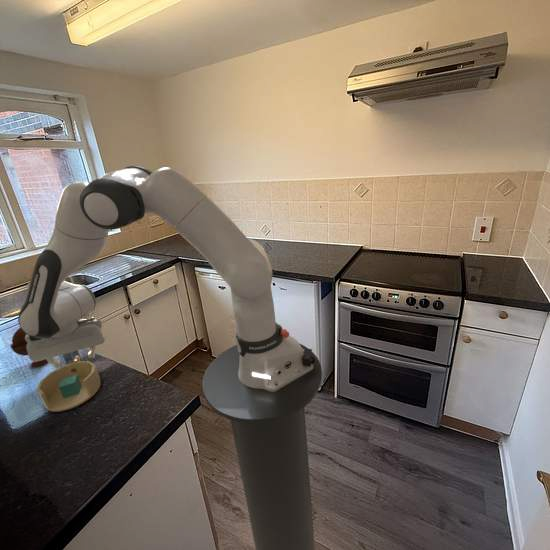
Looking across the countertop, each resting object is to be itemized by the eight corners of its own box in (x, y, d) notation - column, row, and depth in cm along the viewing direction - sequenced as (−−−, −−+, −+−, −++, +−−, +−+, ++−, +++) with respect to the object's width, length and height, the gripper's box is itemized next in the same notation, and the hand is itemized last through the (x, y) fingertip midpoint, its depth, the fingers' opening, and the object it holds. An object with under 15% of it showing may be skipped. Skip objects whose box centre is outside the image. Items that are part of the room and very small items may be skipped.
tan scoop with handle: (104, 359, 102) (99, 344, 100) (98, 399, 84) (91, 382, 82) (57, 373, 97) (50, 358, 95) (39, 419, 79) (30, 401, 77)
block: (81, 385, 90) (77, 374, 88) (79, 393, 86) (74, 382, 85) (66, 389, 89) (61, 379, 87) (63, 398, 85) (58, 387, 84)
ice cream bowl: (66, 355, 107) (50, 319, 101) (32, 375, 98) (13, 337, 92) (48, 350, 111) (33, 315, 106) (14, 369, 102) (-5, 331, 97)
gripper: (99, 311, 98) (112, 347, 103) (24, 329, 90) (41, 366, 96) (97, 320, 92) (110, 357, 97) (17, 339, 85) (36, 378, 90)
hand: (76, 362), depth 96 cm, fingers open, 8 cm apart
